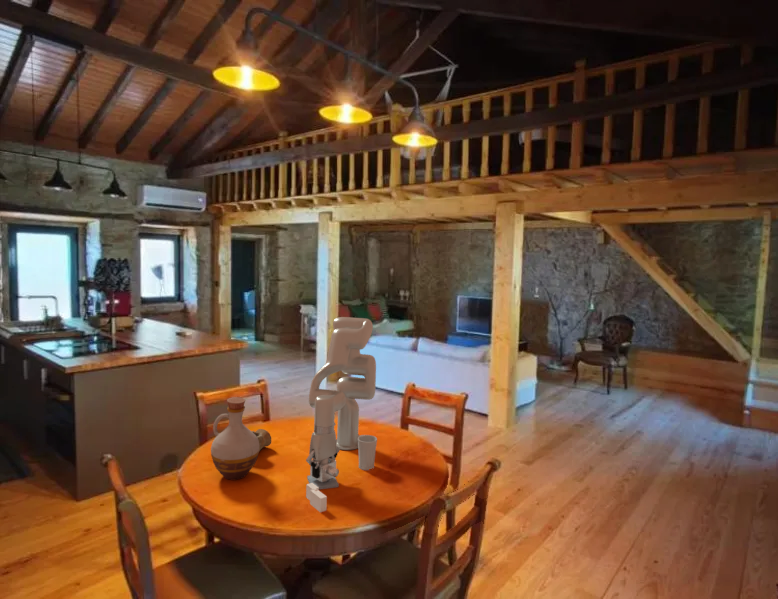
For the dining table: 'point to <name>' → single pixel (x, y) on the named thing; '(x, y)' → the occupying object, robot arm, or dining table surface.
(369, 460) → the cup
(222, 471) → the jug
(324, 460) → the flange
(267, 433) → the pipe
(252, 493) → the dining table surface
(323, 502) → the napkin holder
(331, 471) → the collar
